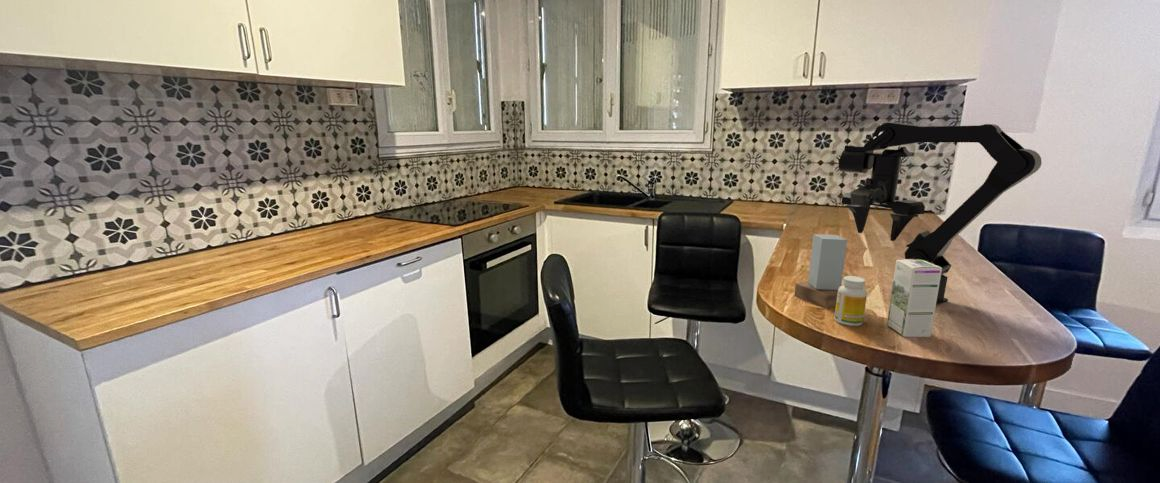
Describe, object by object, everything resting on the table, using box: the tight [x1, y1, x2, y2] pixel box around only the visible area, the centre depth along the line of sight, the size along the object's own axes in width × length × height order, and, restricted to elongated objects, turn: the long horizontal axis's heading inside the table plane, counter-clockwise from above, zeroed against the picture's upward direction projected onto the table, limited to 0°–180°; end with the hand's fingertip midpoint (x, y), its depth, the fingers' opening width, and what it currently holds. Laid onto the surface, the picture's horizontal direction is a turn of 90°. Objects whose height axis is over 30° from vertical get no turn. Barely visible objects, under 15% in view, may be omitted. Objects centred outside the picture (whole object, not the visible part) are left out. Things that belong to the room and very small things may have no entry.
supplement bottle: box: [833, 275, 868, 327], centre depth 103 cm, size 5×5×10 cm
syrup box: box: [886, 258, 942, 338], centre depth 97 cm, size 6×6×14 cm
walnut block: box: [793, 281, 843, 309], centre depth 117 cm, size 9×9×4 cm
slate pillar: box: [807, 233, 848, 290], centre depth 116 cm, size 6×6×12 cm
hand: (875, 236), depth 124 cm, fingers open, 9 cm apart
